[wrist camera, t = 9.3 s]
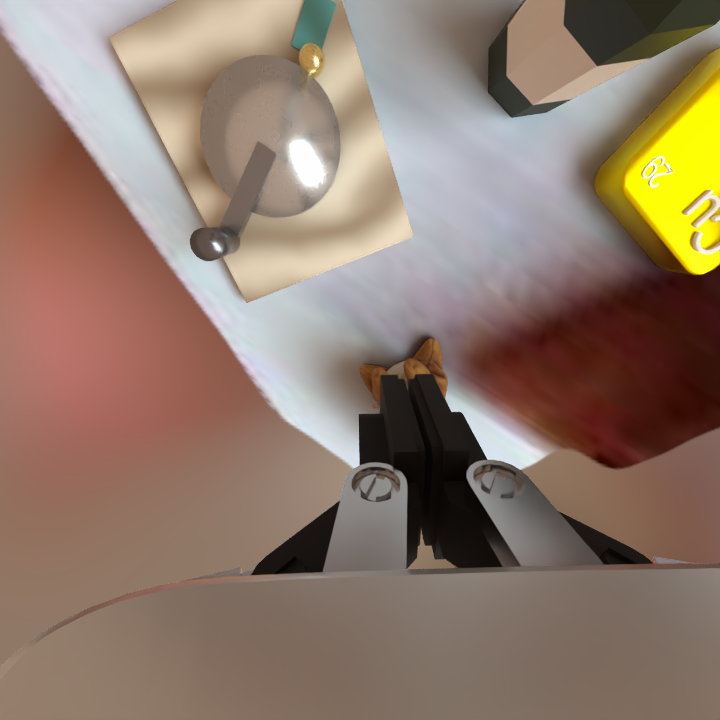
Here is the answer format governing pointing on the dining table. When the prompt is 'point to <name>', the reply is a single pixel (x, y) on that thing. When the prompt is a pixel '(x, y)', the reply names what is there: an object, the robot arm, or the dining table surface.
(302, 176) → the silver rounded piece
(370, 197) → the stand board
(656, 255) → the element tile
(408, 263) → the dining table surface
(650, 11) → the wine bottle
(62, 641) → the robot arm
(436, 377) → the stuffed squirrel
